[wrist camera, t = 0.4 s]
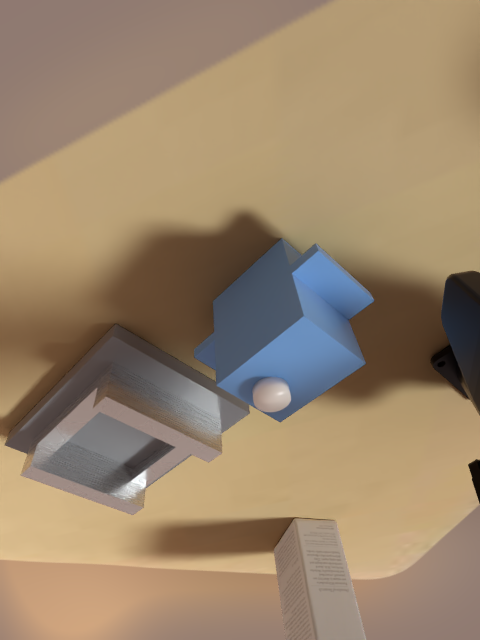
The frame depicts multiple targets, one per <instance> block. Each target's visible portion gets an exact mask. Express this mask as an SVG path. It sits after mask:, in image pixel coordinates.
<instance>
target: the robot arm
mask: <svg viewBox="0 0 480 640" xmlns="http://www.w3.org/2000/svg"><path fill="white" fill-rule="evenodd" d="M441 318H442V323H443V327H444V329H445V332H446V334H447V337H448V339H449V342H450V344H451V345H450V346H449V347H447V348H446V349H444V350H443V351H441V352H439V353H438V354H436V355H435V356H434V357H432V359H431V364H432V366H433V367H434V369H435V370H436V371H438V372H439V373H440V374H441V375H442V376H443V377H444V378H446V379H447V380H448V381H449V382H450V383H451V384H452V385H454V386H455V387H456V388H457V389H458V390H459V391H461V392H462V393H463V394H464V395H465V396H466V397H467V398H469V399H470V400H471V402H472V403H473V405H474V407H475V408H476V410H477V412H478V413H479V415H480V273H479V272H476V271H467V272H461V273H455V274H451V275H450V276H448V277H447V280H446V283H445V290H444V297H443V304H442V312H441ZM468 466H469V469H470V472H471V475H472V481H473V484H474V487H475V490H476V493H477V496H478V500H479V503H480V460H475V461H473V462H471V463H470V464H468Z"/></svg>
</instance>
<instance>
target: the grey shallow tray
mask: <svg viewBox="0 0 480 640" xmlns="http://www.w3.org/2000/svg"><path fill="white" fill-rule="evenodd" d="M249 413H250V412H249V404H248V403H246V402H244V401H242V400H241V399H239V398H237V397H235V396H234V395H232V394H230V393H229V392H227V391H225V390H223V389H222V388H220V387H218V386H216V382H215V381H213V380H212V379H210V378H208V377H206V376H205V375H203V374H201V373H199V372H198V371H196V370H194V369H193V368H191V367H189V366H187V365H186V364H184V363H182V362H181V361H179V360H177V359H175V358H174V357H172V356H170V355H169V354H167V353H165V352H163V351H162V350H160V349H158V348H157V347H155V346H153V345H151V344H150V343H148V342H146V341H145V340H143V339H141V338H139V337H138V336H136V335H134V334H132V333H131V332H129V331H127V330H126V329H124V328H122V327H120V326H119V325H117V324H115V325H114V326H113V327H112V328H111V329H110V330H109V331H108V332H107V333H106V334H105V335H104V336H103V337H102V338H101V339H100V340H99V341H98V342H97V343H96V344H95V345H94V346H93V347H92V348H91V349H90V350H89V351H88V352H87V353H86V354H85V355H84V356H83V358H82V359H81V360H80V361H79V362H78V363H77V364H76V365H75V366H74V367H73V368H72V369H71V370H70V371H69V372H68V373H67V374H66V375H65V376H64V377H63V378H62V379H61V380H60V381H59V382H58V383H57V384H56V385H55V386H54V387H53V388H52V389H51V390H50V391H49V392H48V393H47V394H46V395H45V396H44V398H43V399H42V400H41V401H40V402H39V403H38V404H37V405H36V406H35V407H34V408H33V409H32V410H31V411H30V412H29V413H28V414H27V415H26V416H25V417H24V418H23V419H22V420H21V421H20V422H19V423H18V424H17V425H16V426H15V427H14V428H13V429H12V430H11V431H10V433H9V435H8V438H7V440H6V443H5V445H6V446H8V447H11V448H13V449H16V450H19V451H21V452H24V453H27V457H26V460H25V463H24V466H23V469H22V472H21V476H24V477H26V478H29V479H32V480H35V481H38V482H41V483H43V484H46V485H49V486H52V487H55V488H58V489H60V490H63V491H66V492H69V493H72V494H75V495H77V496H80V497H83V498H86V499H89V500H92V501H94V502H97V503H100V504H103V505H106V506H109V507H111V508H114V509H117V510H120V511H123V512H126V513H128V514H131V515H134V514H135V513H137V512H138V511H140V510H141V509H142V508H144V499H145V489H146V488H147V487H148V486H150V485H151V484H152V483H154V482H155V481H157V480H158V479H159V478H161V477H162V476H163V475H165V474H166V473H168V472H169V471H170V470H172V469H173V468H175V467H176V466H177V465H179V464H180V463H181V462H183V461H184V460H186V459H187V458H188V457H190V456H191V455H194V456H196V457H198V458H200V459H202V460H204V461H207V462H210V461H212V460H213V459H214V458H216V457H217V456H219V455H220V454H222V438H221V434H222V433H223V432H224V431H226V430H227V429H229V428H230V427H231V426H233V425H234V424H235V423H237V422H238V421H240V420H241V419H242V418H244V417H245V416H247V415H248V414H249Z"/></svg>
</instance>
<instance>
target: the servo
mask: <svg viewBox="0 0 480 640" xmlns="http://www.w3.org/2000/svg"><path fill="white" fill-rule="evenodd" d="M372 302H374V299H373V297H372V295H371V293H370V292H369V291H368V290H367V289H366V288H364V287H363V286H362V285H361V284H360V283H359V282H358V281H357V280H356V279H355V278H353V277H352V276H351V275H350V274H349V273H348V272H347V271H346V270H345V269H343V268H342V267H341V266H340V265H339V264H338V263H337V262H336V261H335V260H334V259H332V258H331V257H330V256H329V255H328V254H327V253H326V252H325V251H324V250H322V249H321V248H320V247H319V246H318V245H317V244H314V245H313V246H312V247H311V248H310V249H309V250H308V251H306V252H305V253H304V254H303V255H301V254H300V253H298V252H297V251H296V250H295V249H294V248H293V247H292V246H290V245H289V244H288V243H287V242H286V241H285V240H283V239H282V238H281V239H280V240H279V241H278V242H277V243H276V244H275V245H274V246H273V247H272V248H271V249H269V250H268V251H267V252H266V253H265V254H264V255H263V256H262V257H261V258H260V259H258V260H257V261H256V262H255V263H254V264H253V265H252V266H251V267H250V268H249V269H248V270H246V271H245V272H244V273H243V274H242V275H241V276H240V277H239V278H238V279H237V280H236V281H234V282H233V283H232V284H231V285H230V286H229V287H228V288H227V289H226V290H225V291H224V292H222V293H221V294H220V295H219V296H218V297H217V298H216V299H215V300H214V301H213V314H214V332H213V333H212V334H211V335H210V336H209V337H208V338H207V339H205V340H204V341H203V342H202V343H201V344H200V345H199V346H197V347H196V348H195V349H194V358H196V359H197V360H199V361H201V362H202V363H204V364H206V365H207V366H209V367H211V368H212V369H214V370H216V386H218V387H220V388H222V389H223V390H225V391H227V392H229V393H230V394H232V395H234V396H235V397H237V398H239V399H241V400H242V401H244V402H246V403H248V404H249V405H251V406H253V407H254V408H256V409H258V410H260V411H261V412H263V413H265V414H267V415H268V416H270V417H272V418H274V419H275V420H277V421H279V422H281V421H283V420H284V419H286V418H287V417H289V416H290V415H292V414H293V413H295V412H296V411H298V410H299V409H300V408H302V407H303V406H305V405H306V404H308V403H309V402H311V401H312V400H314V399H315V398H317V397H318V396H320V395H321V394H322V393H324V392H325V391H327V390H328V389H330V388H331V387H333V386H334V385H336V384H337V383H339V382H340V381H342V380H343V379H344V378H346V377H347V376H349V375H350V374H352V373H353V372H355V371H356V370H358V369H359V368H361V367H362V366H364V365H365V364H366V362H365V360H364V357H363V355H362V352H361V350H360V347H359V345H358V342H357V340H356V337H355V335H354V332H353V330H352V327H351V325H350V322H349V319H351V318H352V317H354V316H355V315H356V314H358V313H359V312H360V311H362V310H363V309H364V308H366V307H367V306H368V305H370V304H371V303H372Z"/></svg>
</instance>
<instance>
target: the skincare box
mask: <svg viewBox="0 0 480 640" xmlns="http://www.w3.org/2000/svg"><path fill="white" fill-rule="evenodd" d="M274 556H275V563H276V571H277V578H278V585H279V593H280V600H281V608H282V614H283V622H284V630H285V637H286V640H366V637H365V633H364V629H363V625H362V621H361V617H360V613H359V609H358V605H357V601H356V597H355V593H354V589H353V585H352V581H351V577H350V573H349V569H348V565H347V561H346V557H345V553H344V549H343V545H342V541H341V537H340V533H339V529H338V526H337V522H336V521H334V520H317V519H304V518H295V519H294V520H293V521H292V523H291V524H290V526H289V528H288V529H287V530H286V532H285V533H284V535H283V537H282V538H281V540H280V541H279V543H278V544H277V546H276V547H275V548H274Z"/></svg>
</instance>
